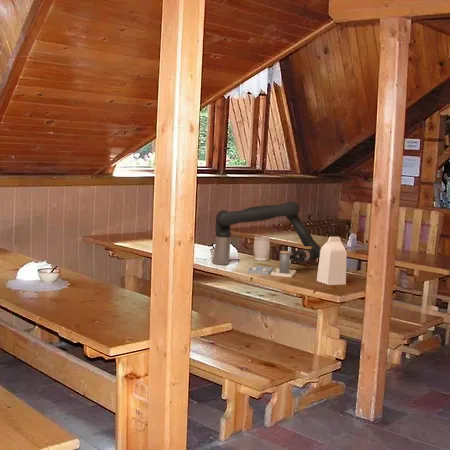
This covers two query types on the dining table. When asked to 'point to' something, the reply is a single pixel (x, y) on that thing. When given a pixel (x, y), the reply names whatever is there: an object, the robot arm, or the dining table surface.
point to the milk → (332, 263)
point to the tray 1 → (259, 270)
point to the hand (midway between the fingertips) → (287, 258)
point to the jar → (261, 248)
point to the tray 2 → (276, 273)
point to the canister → (284, 262)
